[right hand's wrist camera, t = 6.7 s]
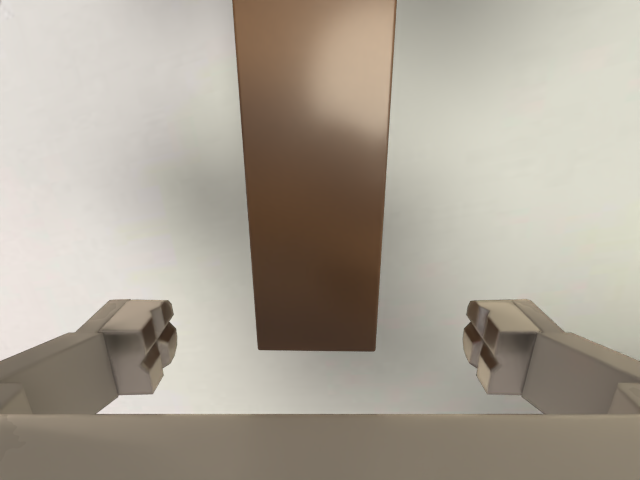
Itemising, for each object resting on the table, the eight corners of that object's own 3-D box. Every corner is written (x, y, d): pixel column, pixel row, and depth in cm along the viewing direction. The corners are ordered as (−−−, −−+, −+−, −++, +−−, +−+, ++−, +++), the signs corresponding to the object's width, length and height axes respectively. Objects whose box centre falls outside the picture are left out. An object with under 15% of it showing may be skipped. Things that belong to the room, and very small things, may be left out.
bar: (357, 257, 22) (375, 352, 14) (284, 256, 22) (257, 350, 14) (379, -337, 14) (461, -1035, 5) (261, -333, 14) (156, -1011, 5)
